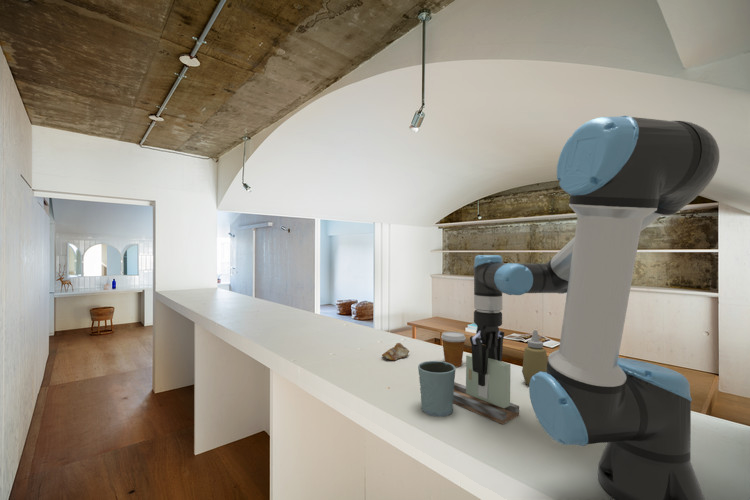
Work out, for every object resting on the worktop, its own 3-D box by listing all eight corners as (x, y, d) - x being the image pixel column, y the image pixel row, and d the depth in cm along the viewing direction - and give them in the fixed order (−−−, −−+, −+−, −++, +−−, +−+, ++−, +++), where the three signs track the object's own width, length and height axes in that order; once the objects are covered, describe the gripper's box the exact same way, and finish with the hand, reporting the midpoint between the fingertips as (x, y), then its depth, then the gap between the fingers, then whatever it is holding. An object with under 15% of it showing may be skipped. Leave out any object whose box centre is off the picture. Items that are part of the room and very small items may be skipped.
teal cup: (459, 407, 97) (460, 364, 97) (448, 421, 88) (448, 375, 88) (426, 399, 102) (426, 358, 102) (412, 412, 93) (412, 368, 93)
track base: (519, 415, 92) (519, 405, 92) (502, 424, 87) (502, 414, 87) (448, 387, 111) (448, 379, 111) (431, 393, 106) (431, 385, 106)
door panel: (510, 405, 91) (510, 364, 91) (503, 408, 89) (503, 366, 89) (472, 390, 101) (472, 353, 101) (465, 393, 99) (465, 355, 99)
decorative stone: (413, 343, 148) (397, 356, 135) (413, 353, 148) (397, 366, 135) (393, 339, 153) (376, 352, 140) (393, 349, 153) (376, 362, 140)
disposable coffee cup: (466, 369, 129) (466, 337, 129) (440, 367, 130) (440, 336, 131) (465, 361, 138) (465, 331, 138) (440, 360, 140) (441, 330, 140)
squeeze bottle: (520, 386, 112) (521, 331, 112) (523, 378, 119) (523, 327, 120) (548, 391, 108) (548, 334, 109) (549, 383, 116) (549, 329, 116)
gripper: (492, 306, 103) (491, 384, 103) (458, 311, 93) (458, 398, 93) (515, 309, 97) (515, 392, 97) (482, 315, 87) (482, 407, 87)
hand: (487, 394), depth 95 cm, fingers closed on door panel, 3 cm apart
